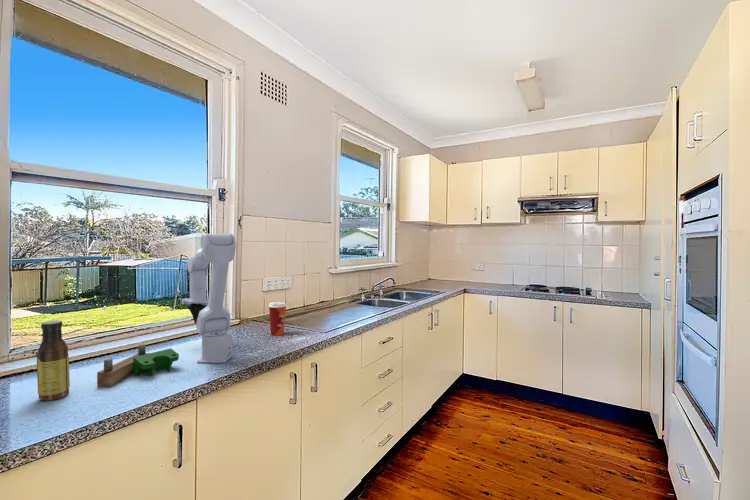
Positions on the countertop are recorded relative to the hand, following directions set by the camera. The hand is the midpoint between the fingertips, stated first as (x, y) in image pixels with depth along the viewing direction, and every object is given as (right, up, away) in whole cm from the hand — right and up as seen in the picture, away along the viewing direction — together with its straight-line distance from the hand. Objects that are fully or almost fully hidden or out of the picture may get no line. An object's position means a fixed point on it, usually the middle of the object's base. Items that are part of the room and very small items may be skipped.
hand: (198, 323), depth 139 cm
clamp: (0, -10, -26) cm, 28 cm away
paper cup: (+25, -9, +21) cm, 34 cm away
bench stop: (-8, -10, -29) cm, 32 cm away
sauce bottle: (-16, -10, -45) cm, 49 cm away
